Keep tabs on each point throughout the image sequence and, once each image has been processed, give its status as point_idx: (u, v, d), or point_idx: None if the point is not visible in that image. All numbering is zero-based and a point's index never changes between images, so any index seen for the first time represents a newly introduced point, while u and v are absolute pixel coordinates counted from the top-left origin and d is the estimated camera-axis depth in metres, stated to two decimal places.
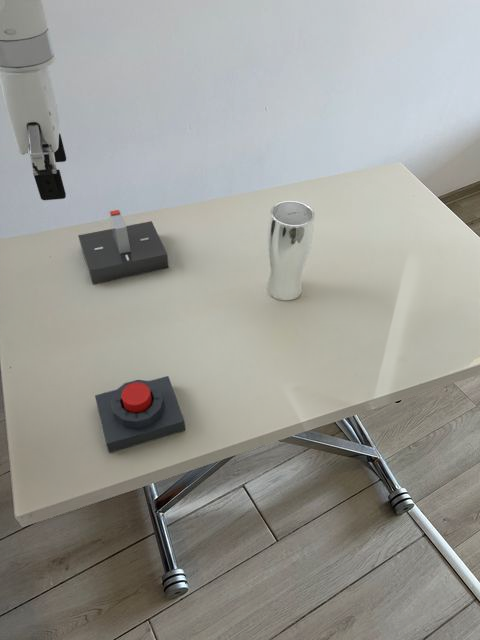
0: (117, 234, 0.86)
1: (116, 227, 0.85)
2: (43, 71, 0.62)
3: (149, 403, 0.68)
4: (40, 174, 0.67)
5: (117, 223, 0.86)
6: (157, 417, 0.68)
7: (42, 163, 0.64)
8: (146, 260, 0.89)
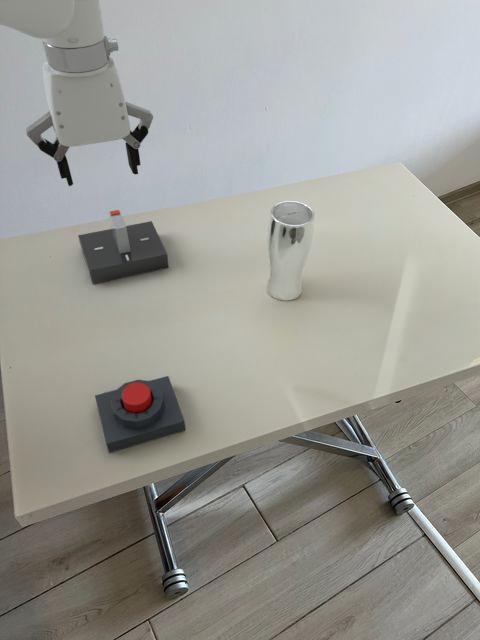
0: (117, 234, 0.86)
1: (116, 227, 0.85)
2: (66, 79, 0.67)
3: (149, 403, 0.68)
4: None
5: (117, 223, 0.86)
6: (157, 417, 0.68)
7: (33, 141, 0.72)
8: (146, 260, 0.89)
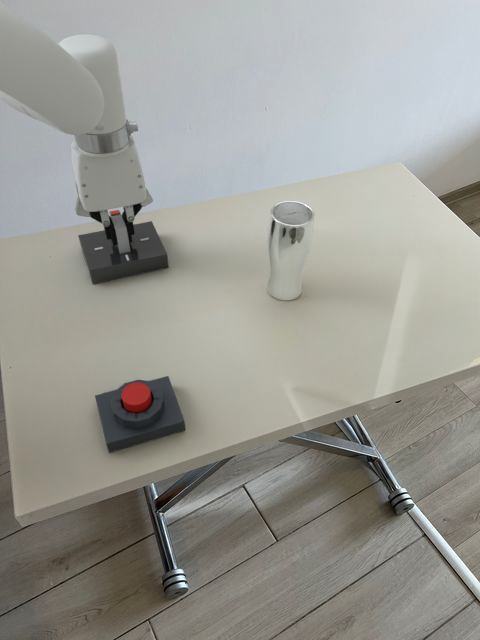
0: (117, 234, 0.86)
1: (116, 227, 0.85)
2: (92, 158, 0.76)
3: (149, 403, 0.68)
4: None
5: (117, 223, 0.86)
6: (157, 417, 0.68)
7: None
8: (146, 260, 0.89)
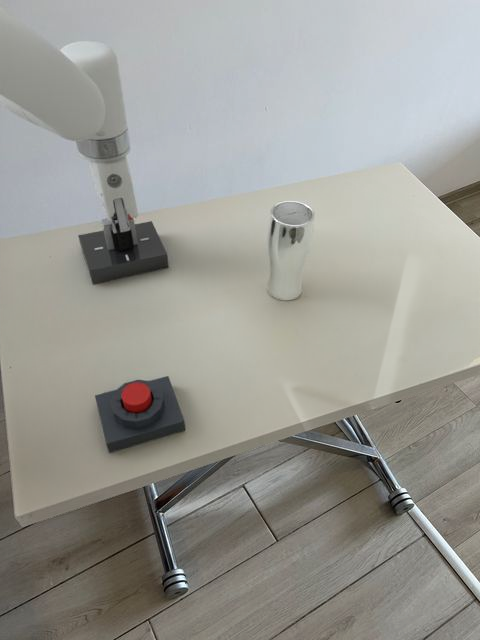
0: (102, 225, 0.87)
1: (103, 219, 0.87)
2: None
3: (149, 403, 0.68)
4: None
5: None
6: (157, 417, 0.68)
7: None
8: (146, 260, 0.89)
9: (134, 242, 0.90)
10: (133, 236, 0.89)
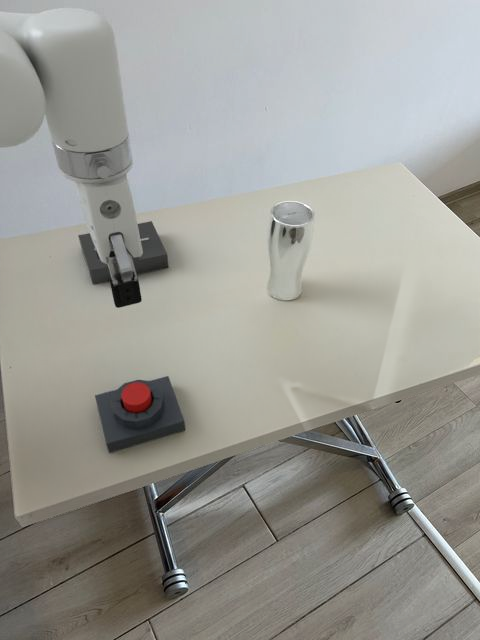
0: None
1: None
2: None
3: (149, 403, 0.68)
4: None
5: None
6: (157, 417, 0.68)
7: None
8: (146, 260, 0.89)
9: None
10: None
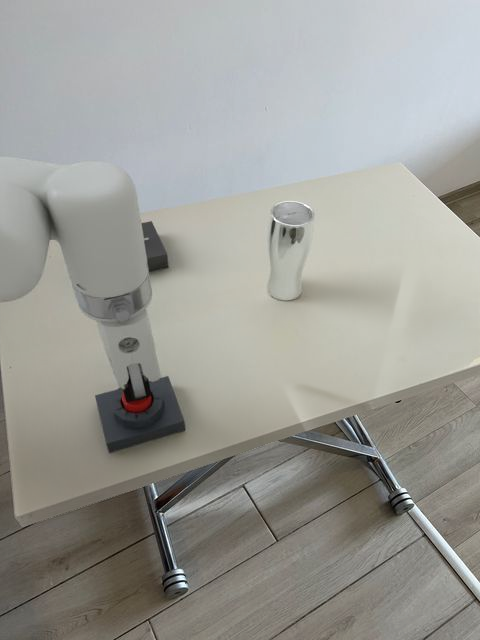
0: None
1: None
2: None
3: (149, 405, 0.68)
4: None
5: None
6: (157, 417, 0.68)
7: None
8: None
9: None
10: None
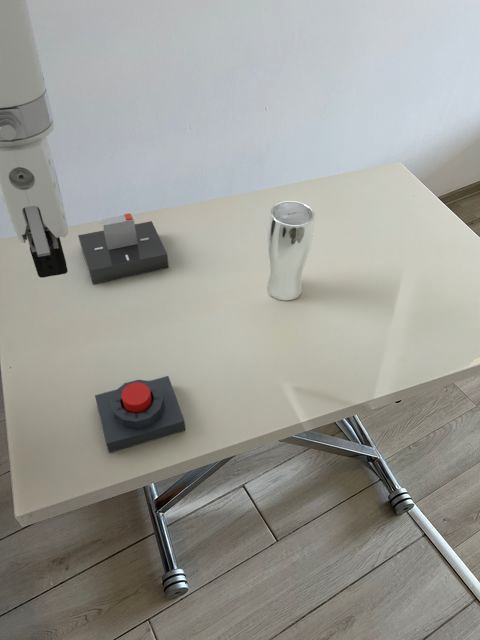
0: (102, 225, 0.87)
1: (103, 219, 0.87)
2: None
3: (149, 403, 0.68)
4: None
5: (110, 219, 0.87)
6: (157, 417, 0.68)
7: None
8: (146, 260, 0.89)
9: (134, 242, 0.90)
10: (133, 236, 0.89)
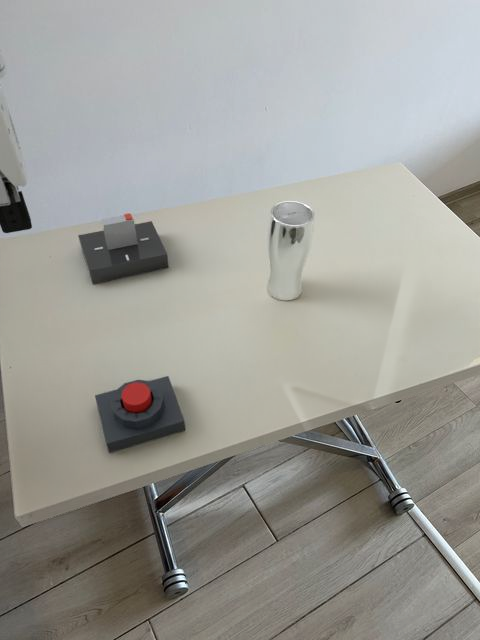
0: (102, 225, 0.87)
1: (103, 219, 0.87)
2: None
3: (149, 403, 0.68)
4: None
5: (110, 219, 0.87)
6: (157, 417, 0.68)
7: None
8: (146, 260, 0.89)
9: (134, 242, 0.90)
10: (133, 236, 0.89)
